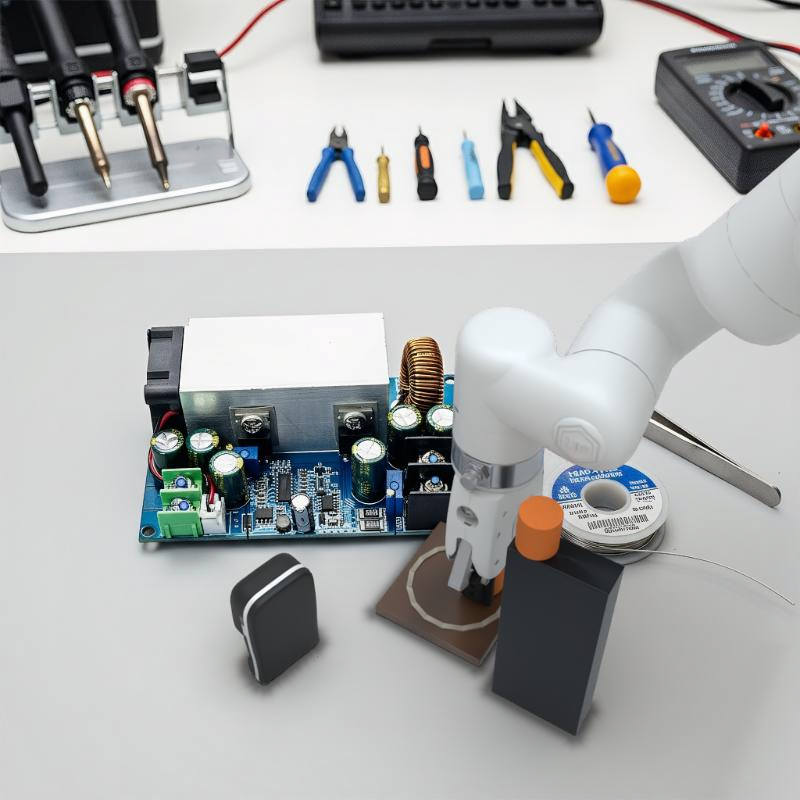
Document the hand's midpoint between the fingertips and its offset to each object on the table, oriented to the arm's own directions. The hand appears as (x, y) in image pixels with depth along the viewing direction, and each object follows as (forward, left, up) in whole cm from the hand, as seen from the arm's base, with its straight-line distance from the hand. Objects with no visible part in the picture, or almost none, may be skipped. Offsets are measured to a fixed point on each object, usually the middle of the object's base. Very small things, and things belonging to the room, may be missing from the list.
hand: (486, 582), depth 93 cm
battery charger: (+13, +16, -2) cm, 20 cm away
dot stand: (-9, +8, -1) cm, 12 cm away
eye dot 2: (-7, +8, +19) cm, 21 cm away
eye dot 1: (0, 0, 0) cm, 0 cm away
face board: (+2, +2, -1) cm, 3 cm away
